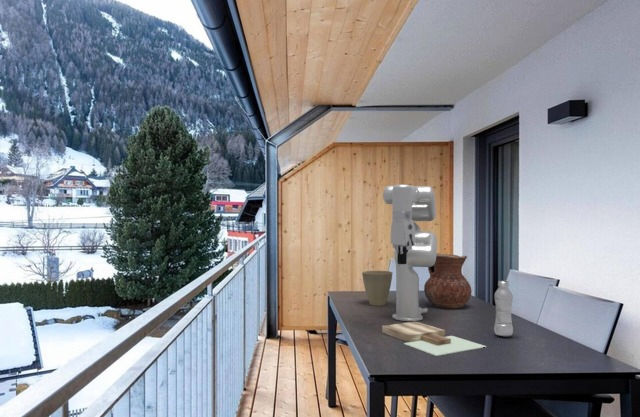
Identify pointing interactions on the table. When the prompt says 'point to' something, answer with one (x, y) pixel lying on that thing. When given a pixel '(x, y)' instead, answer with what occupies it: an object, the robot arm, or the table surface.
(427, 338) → the walnut tile
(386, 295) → the plant pot
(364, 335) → the table surface
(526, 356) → the table surface
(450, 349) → the sage mat
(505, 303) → the plastic bottle
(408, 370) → the table surface
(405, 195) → the robot arm
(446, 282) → the jug
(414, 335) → the board
